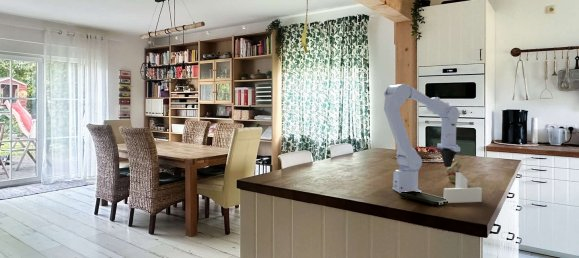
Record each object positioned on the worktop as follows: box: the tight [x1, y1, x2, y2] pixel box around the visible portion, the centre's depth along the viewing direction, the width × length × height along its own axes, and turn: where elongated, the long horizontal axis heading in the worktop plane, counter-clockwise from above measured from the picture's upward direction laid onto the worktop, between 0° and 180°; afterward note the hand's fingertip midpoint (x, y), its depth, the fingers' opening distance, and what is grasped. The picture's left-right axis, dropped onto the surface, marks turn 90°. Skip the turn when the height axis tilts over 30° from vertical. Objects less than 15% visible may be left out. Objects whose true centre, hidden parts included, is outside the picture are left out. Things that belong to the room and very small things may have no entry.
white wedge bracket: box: [454, 171, 468, 188], centre depth 143 cm, size 4×10×9 cm, turn 129°
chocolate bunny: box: [446, 160, 465, 184], centre depth 173 cm, size 6×8×10 cm
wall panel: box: [443, 186, 483, 204], centre depth 138 cm, size 14×2×5 cm, turn 97°
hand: (447, 166), depth 159 cm, fingers closed
